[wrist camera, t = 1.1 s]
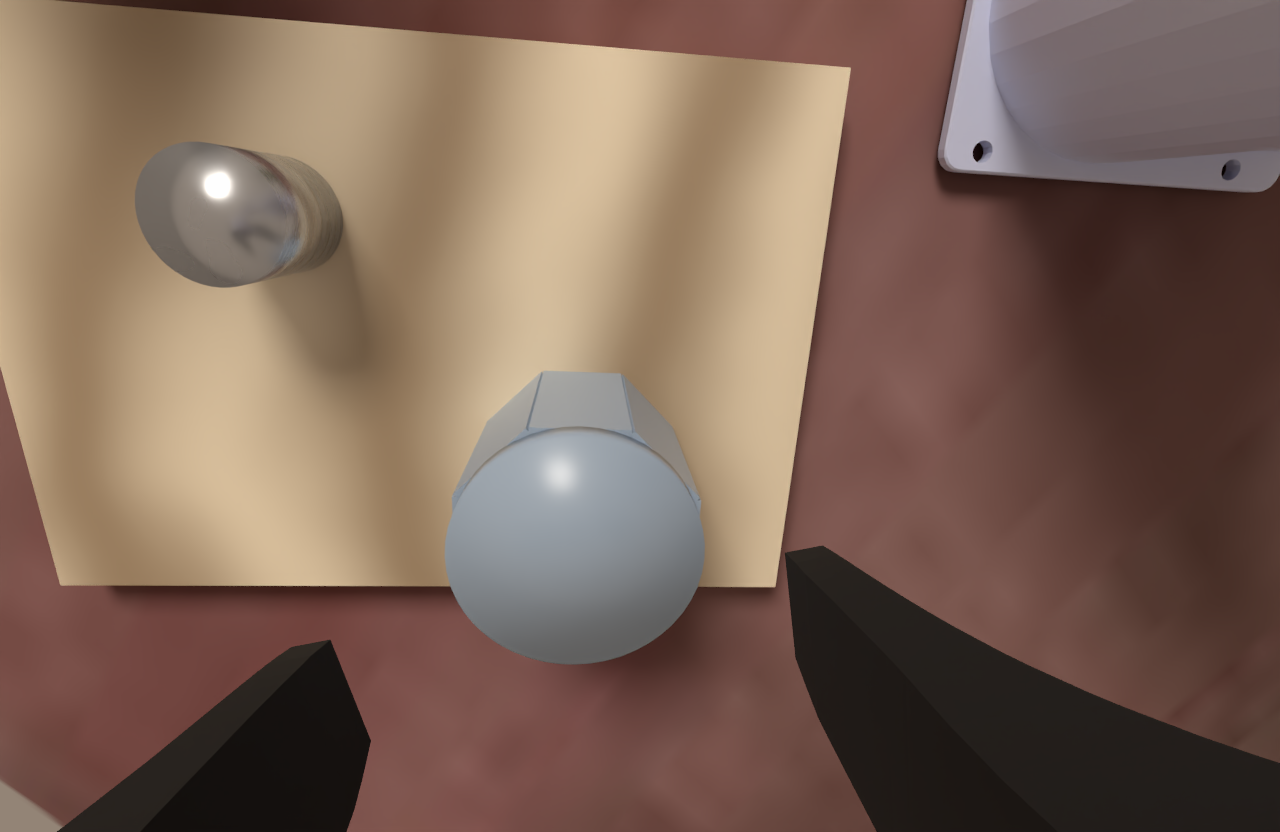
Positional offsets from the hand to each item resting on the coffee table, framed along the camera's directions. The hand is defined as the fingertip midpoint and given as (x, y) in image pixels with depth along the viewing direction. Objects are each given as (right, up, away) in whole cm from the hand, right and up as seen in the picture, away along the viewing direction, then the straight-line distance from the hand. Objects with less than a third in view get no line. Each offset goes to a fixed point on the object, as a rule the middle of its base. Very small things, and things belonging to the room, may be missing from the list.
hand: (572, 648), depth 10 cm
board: (-4, +6, +7) cm, 10 cm away
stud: (-7, +8, +5) cm, 12 cm away
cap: (-1, +2, +7) cm, 8 cm away
